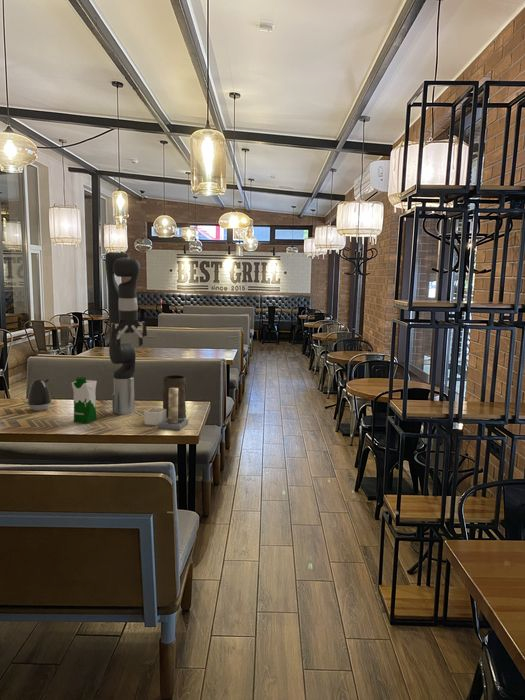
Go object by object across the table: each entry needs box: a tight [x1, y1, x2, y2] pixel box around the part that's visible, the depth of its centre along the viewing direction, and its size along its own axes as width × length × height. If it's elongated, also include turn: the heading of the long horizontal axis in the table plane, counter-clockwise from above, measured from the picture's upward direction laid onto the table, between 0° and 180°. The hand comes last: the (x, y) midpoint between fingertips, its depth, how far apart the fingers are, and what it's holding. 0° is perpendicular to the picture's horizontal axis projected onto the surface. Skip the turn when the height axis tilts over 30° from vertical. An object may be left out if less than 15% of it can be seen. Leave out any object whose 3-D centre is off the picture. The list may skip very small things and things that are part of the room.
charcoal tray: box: [157, 418, 189, 431], centre depth 209 cm, size 10×10×2 cm
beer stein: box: [162, 374, 187, 419], centre depth 223 cm, size 15×11×20 cm
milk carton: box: [71, 376, 98, 424], centre depth 214 cm, size 9×9×20 cm
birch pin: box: [168, 388, 178, 425], centre depth 208 cm, size 4×4×16 cm
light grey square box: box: [143, 407, 166, 426], centre depth 213 cm, size 7×7×6 cm
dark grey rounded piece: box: [27, 378, 52, 412], centre depth 231 cm, size 10×10×15 cm
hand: (129, 346), depth 201 cm, fingers open, 8 cm apart
